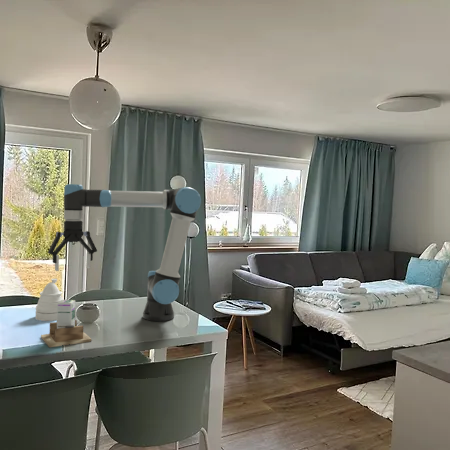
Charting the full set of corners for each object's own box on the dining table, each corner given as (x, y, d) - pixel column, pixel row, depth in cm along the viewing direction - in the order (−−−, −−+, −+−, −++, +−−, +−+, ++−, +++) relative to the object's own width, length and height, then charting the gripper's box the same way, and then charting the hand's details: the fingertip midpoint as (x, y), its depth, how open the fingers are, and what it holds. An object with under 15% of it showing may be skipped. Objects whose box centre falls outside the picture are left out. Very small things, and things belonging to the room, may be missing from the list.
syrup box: (71, 339, 171) (72, 302, 171) (56, 338, 171) (56, 302, 170) (75, 334, 177) (76, 299, 176) (60, 334, 177) (61, 299, 176)
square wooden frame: (81, 332, 184) (81, 316, 184) (91, 341, 173) (91, 324, 172) (41, 337, 175) (41, 321, 175) (49, 347, 164) (49, 330, 163)
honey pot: (50, 312, 213) (51, 276, 213) (70, 316, 208) (71, 279, 208) (29, 318, 202) (30, 280, 201) (50, 322, 197) (51, 283, 196)
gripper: (98, 219, 196) (97, 266, 198) (40, 220, 181) (40, 270, 182) (104, 220, 190) (104, 268, 192) (45, 221, 175) (45, 273, 176)
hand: (73, 269), depth 187 cm, fingers open, 13 cm apart
